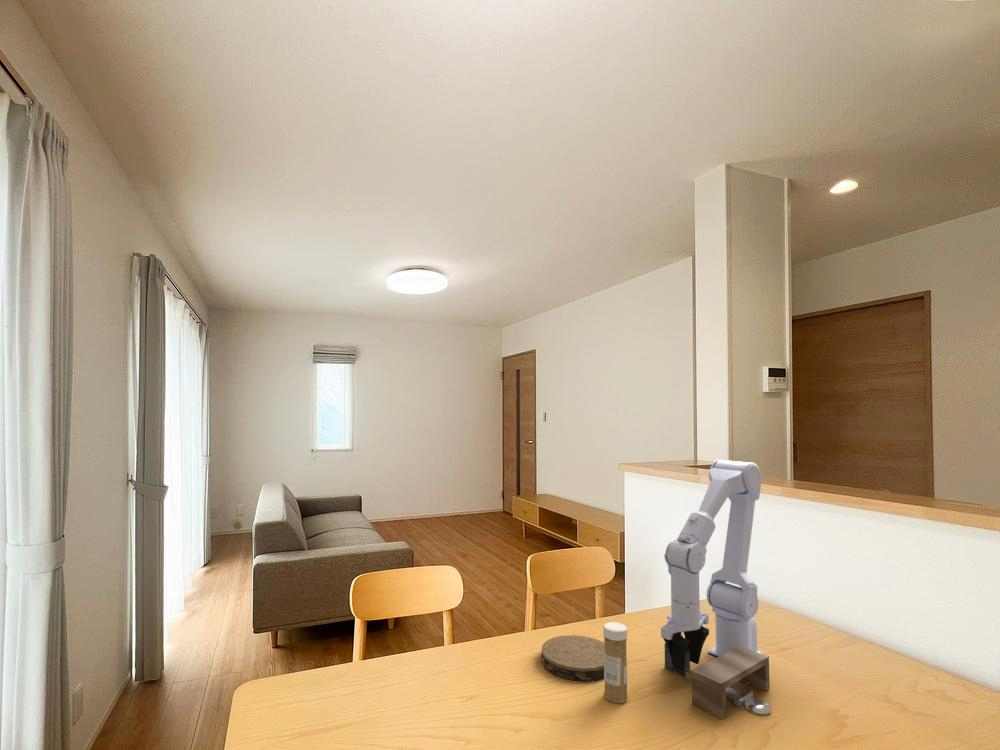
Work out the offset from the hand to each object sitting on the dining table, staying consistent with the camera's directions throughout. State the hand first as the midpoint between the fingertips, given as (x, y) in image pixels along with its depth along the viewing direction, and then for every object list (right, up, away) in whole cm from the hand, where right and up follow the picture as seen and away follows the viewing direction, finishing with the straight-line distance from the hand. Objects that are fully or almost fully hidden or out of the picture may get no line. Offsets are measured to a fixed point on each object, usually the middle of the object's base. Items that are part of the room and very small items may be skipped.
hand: (686, 665), depth 109 cm
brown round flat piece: (-22, -3, +4) cm, 23 cm away
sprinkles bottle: (-17, -1, -9) cm, 19 cm away
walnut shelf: (+6, -1, -8) cm, 10 cm away
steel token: (+9, -2, -12) cm, 15 cm away
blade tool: (+2, -2, -3) cm, 5 cm away
